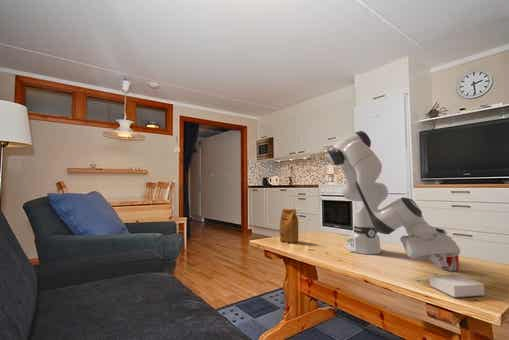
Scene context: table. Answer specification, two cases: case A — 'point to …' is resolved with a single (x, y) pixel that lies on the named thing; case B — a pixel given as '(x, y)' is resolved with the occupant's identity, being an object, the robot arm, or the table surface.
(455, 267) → the soda can
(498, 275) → the table surface
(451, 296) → the mat
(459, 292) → the tile
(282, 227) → the coffee package
